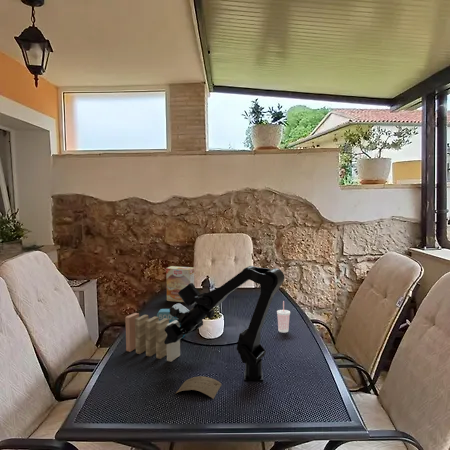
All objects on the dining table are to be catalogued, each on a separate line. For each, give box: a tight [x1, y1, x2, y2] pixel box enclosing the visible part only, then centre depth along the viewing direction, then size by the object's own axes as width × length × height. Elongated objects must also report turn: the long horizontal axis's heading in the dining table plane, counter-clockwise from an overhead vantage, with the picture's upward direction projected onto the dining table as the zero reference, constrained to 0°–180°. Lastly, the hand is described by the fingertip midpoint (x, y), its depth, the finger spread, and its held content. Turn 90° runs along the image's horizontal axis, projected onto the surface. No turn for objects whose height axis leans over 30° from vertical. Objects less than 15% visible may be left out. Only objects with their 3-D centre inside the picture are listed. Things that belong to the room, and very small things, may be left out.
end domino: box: [124, 312, 140, 353], centre depth 160 cm, size 2×6×14 cm, turn 152°
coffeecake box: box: [165, 265, 195, 303], centre depth 229 cm, size 15×7×20 cm, turn 73°
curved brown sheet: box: [174, 375, 223, 400], centre depth 127 cm, size 14×10×3 cm
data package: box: [156, 308, 186, 340], centre depth 172 cm, size 12×4×12 cm, turn 89°
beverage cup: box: [276, 300, 291, 333], centre depth 179 cm, size 6×6×14 cm
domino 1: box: [135, 314, 150, 355], centre depth 157 cm, size 2×6×14 cm, turn 153°
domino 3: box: [155, 318, 169, 360], centre depth 153 cm, size 2×6×14 cm, turn 153°
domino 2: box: [145, 315, 159, 357], centre depth 155 cm, size 2×6×14 cm, turn 152°
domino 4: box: [166, 320, 181, 362], centre depth 150 cm, size 2×6×14 cm, turn 152°
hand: (172, 339), depth 151 cm, fingers open, 9 cm apart
